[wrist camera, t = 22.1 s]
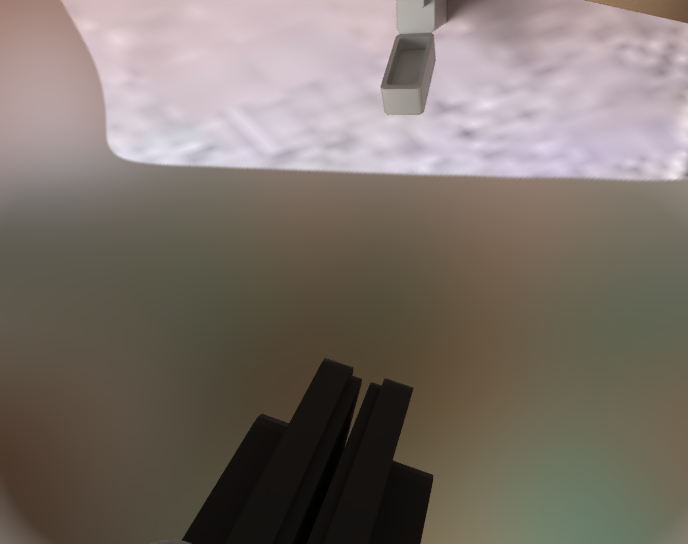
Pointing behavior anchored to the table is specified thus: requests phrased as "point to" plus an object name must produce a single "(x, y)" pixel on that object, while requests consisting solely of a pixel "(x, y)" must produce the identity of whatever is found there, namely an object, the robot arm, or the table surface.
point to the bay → (653, 7)
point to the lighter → (412, 56)
